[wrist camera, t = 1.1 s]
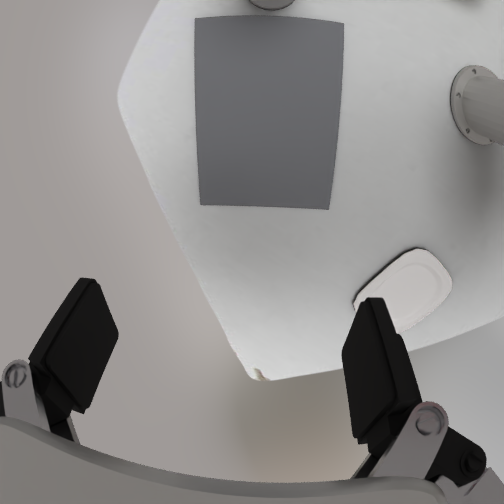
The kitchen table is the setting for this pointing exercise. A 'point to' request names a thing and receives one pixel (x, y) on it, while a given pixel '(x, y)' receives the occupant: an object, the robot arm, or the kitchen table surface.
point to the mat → (267, 109)
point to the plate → (409, 288)
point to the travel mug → (271, 4)
